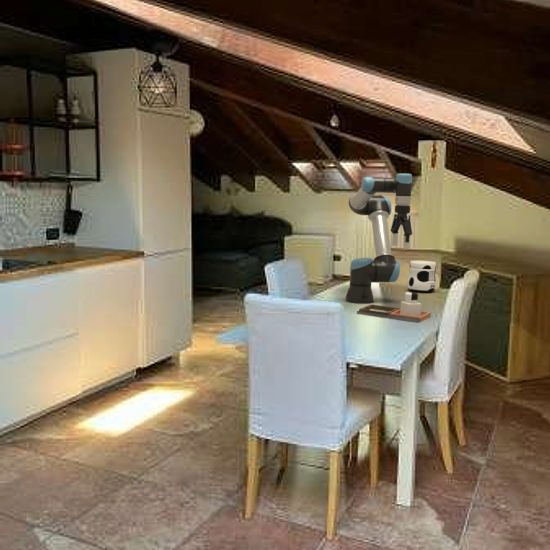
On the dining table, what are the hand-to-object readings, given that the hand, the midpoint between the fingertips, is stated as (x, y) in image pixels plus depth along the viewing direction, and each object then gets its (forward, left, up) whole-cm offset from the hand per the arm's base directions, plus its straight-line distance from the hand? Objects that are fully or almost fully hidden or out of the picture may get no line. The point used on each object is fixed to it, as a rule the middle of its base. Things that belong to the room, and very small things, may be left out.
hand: (400, 247), depth 305 cm
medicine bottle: (+13, +12, -32) cm, 36 cm away
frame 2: (+13, +12, -32) cm, 36 cm away
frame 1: (+13, -4, -32) cm, 34 cm away
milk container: (-67, -10, -32) cm, 75 cm away
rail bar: (+22, +4, -32) cm, 39 cm away
